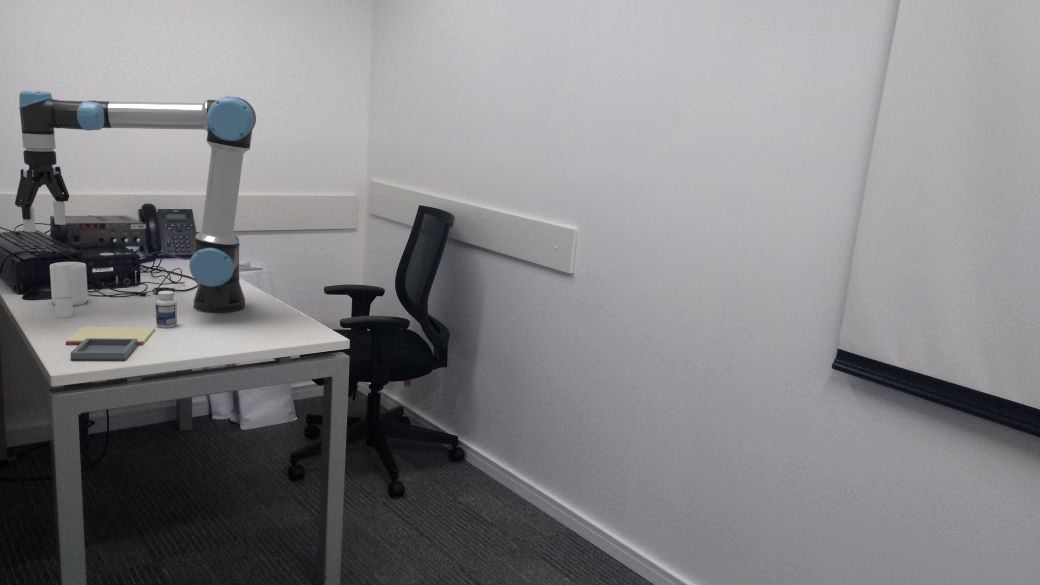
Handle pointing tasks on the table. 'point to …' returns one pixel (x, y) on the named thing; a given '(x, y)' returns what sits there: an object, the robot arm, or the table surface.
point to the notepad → (111, 334)
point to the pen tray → (104, 349)
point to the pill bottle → (166, 310)
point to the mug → (74, 283)
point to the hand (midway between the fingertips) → (45, 228)
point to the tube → (63, 289)
